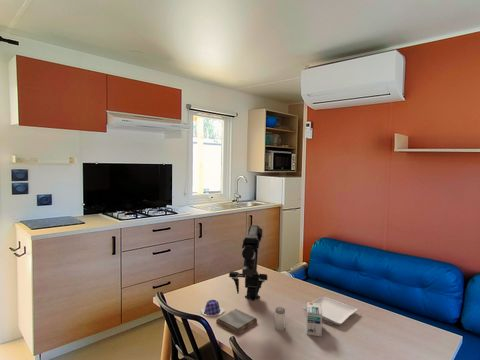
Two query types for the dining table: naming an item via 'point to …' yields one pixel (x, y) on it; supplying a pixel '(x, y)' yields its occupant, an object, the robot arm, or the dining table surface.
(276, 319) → the beige grey cylinder
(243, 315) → the walnut stand
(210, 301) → the pudding
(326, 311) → the salad plate
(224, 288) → the dining table surface
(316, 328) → the light bulb box
